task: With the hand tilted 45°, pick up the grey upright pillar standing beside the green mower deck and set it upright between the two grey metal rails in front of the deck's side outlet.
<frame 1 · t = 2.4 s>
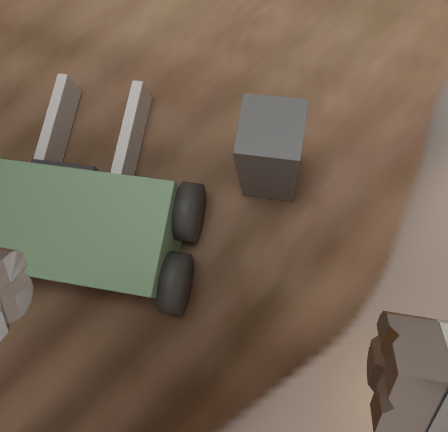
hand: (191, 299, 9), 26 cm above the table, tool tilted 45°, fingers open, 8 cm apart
mower deck: (76, 234, 38), on the table
grey upright pillar: (271, 175, 38), on the table
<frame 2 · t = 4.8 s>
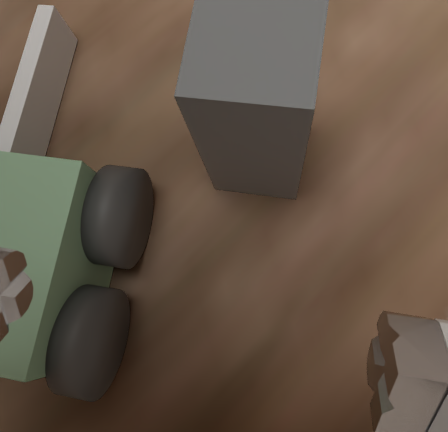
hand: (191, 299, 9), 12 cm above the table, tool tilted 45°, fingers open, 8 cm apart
grey upright pillar: (260, 156, 23), on the table
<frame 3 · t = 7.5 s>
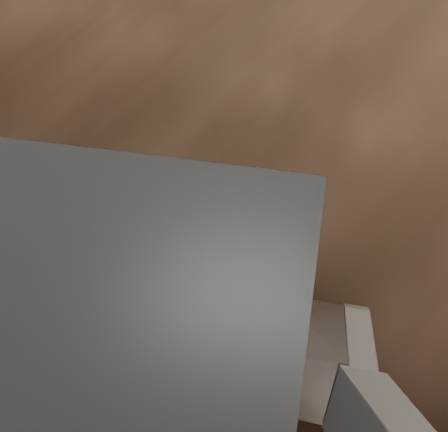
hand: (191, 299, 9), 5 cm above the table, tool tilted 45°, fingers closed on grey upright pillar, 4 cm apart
grey upright pillar: (217, 324, 14), on the table, touching gripper
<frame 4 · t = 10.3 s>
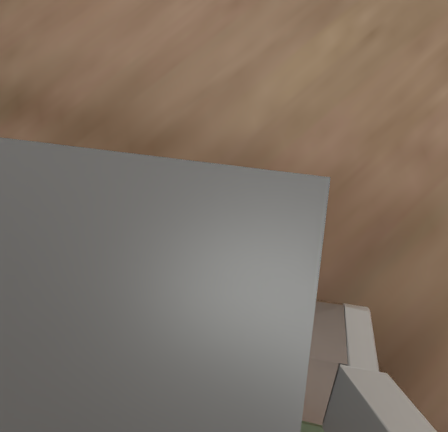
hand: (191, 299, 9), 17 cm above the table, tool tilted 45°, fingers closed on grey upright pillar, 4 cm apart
grey upright pillar: (218, 325, 14), point 12 cm above the table, touching gripper
when the fingers open (7 cm above the table, at t = 13.2 s): grey upright pillar drops 2 cm, resting in mower deck.
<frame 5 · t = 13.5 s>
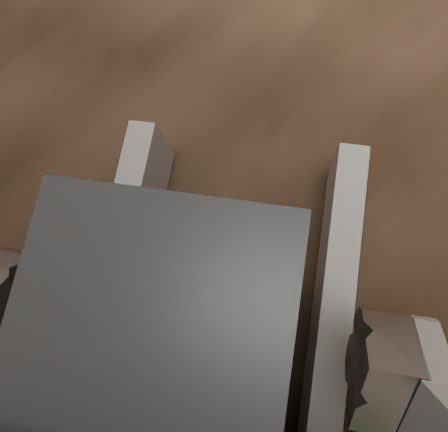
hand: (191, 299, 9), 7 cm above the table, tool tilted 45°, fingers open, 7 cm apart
grey upright pillar: (220, 324, 16), resting in mower deck
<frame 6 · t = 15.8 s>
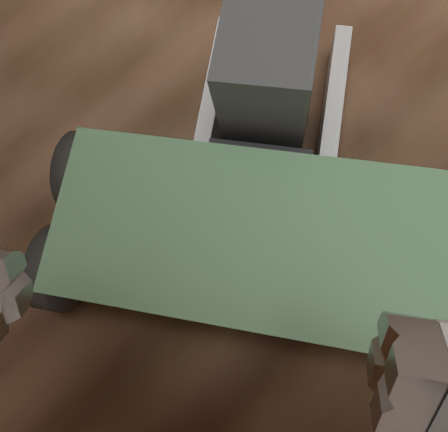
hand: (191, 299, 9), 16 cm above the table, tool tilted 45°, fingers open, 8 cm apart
mower deck: (250, 252, 26), on the table
grey upright pillar: (268, 137, 28), resting in mower deck
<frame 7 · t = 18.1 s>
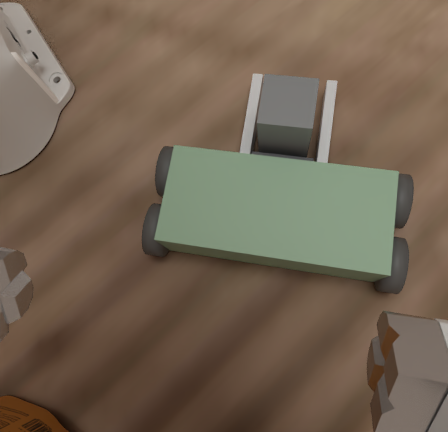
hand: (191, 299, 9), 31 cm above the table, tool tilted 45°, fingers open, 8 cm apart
mower deck: (274, 221, 41), on the table
grey upright pillar: (284, 149, 43), resting in mower deck
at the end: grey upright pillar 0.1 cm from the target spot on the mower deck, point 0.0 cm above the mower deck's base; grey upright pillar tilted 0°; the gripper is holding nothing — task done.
